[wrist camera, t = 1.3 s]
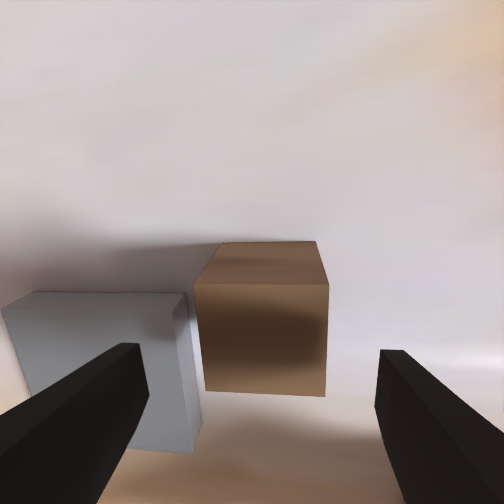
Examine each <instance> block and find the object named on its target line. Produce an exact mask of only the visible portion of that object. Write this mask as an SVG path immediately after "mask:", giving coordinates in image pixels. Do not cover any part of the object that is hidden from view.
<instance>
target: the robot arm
mask: <svg viewBox="0 0 504 504" xmlns="http://www.w3.org/2000/svg"><path fill="white" fill-rule="evenodd" d="M149 396H150V394H149V389H148V384H147V379H146V374H145V369H144V364H143V359H142V354H141V348H140V343H119V344H117V345H116V346H114V347H112V348H110V349H108V350H107V351H105V352H103V353H102V354H100V355H99V356H97V357H95V358H94V359H92V360H91V361H89V362H87V363H86V364H84V365H83V366H81V367H80V368H78V369H76V370H75V371H73V372H72V373H70V374H68V375H67V376H65V377H64V378H62V379H60V380H59V381H57V382H56V383H54V384H52V385H51V386H49V387H48V388H46V389H44V390H42V391H41V392H39V393H37V394H36V395H34V396H32V397H31V398H29V399H27V400H25V401H24V402H22V403H20V404H19V405H17V406H15V407H14V408H12V409H10V410H8V411H7V412H5V413H3V414H2V415H0V504H96V503H97V502H98V500H99V498H100V496H101V494H102V492H103V490H104V489H105V487H106V485H107V483H108V481H109V479H110V478H111V476H112V474H113V472H114V470H115V468H116V467H117V465H118V463H119V461H120V459H121V457H122V455H123V454H124V452H125V450H126V448H127V446H128V444H129V442H130V440H131V439H132V437H133V435H134V433H135V431H136V429H137V427H138V424H139V422H140V419H141V417H142V415H143V412H144V409H145V407H146V404H147V401H148V399H149ZM374 407H375V411H376V415H377V419H378V423H379V427H380V431H381V435H382V439H383V442H384V446H385V449H386V451H387V454H388V457H389V460H390V462H391V465H392V468H393V470H394V473H395V476H396V479H397V481H398V484H399V487H400V489H401V492H402V495H403V497H404V500H405V504H504V433H503V432H502V431H501V430H499V429H498V428H497V427H495V426H494V425H493V424H491V423H490V422H489V421H488V420H486V419H485V418H484V417H483V416H481V415H480V414H479V413H478V412H476V411H475V410H474V409H473V408H471V407H470V406H469V405H468V404H466V403H465V402H464V401H463V400H462V399H460V398H459V397H458V396H457V395H456V394H454V393H453V392H452V391H451V390H450V389H448V388H447V387H446V386H445V385H444V384H443V383H441V382H440V381H439V380H438V379H437V378H436V377H434V376H433V375H432V374H431V373H430V372H429V371H427V370H426V369H425V368H424V367H423V366H422V365H420V364H419V363H418V362H417V361H416V360H415V359H413V358H412V357H411V356H410V355H409V354H407V353H406V352H405V351H404V350H382V349H380V358H379V368H378V377H377V387H376V396H375V406H374Z"/></svg>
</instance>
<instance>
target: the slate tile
mask: <svg viewBox="0 0 504 504" xmlns="http://www.w3.org/2000/svg"><path fill="white" fill-rule="evenodd" d="M1 311H2V314H3V317H4V320H5V323H6V326H7V328H8V331H9V334H10V337H11V340H12V343H13V345H14V348H15V351H16V354H17V357H18V360H19V362H20V365H21V368H22V371H23V374H24V377H25V380H26V382H27V385H28V388H29V391H30V394H31V397H32V396H34V395H36V394H37V393H39V392H41V391H42V390H44V389H46V388H48V387H49V386H51V385H52V384H54V383H56V382H57V381H59V380H60V379H62V378H64V377H65V376H67V375H68V374H70V373H72V372H73V371H75V370H76V369H78V368H80V367H81V366H83V365H84V364H86V363H87V362H89V361H91V360H92V359H94V358H95V357H97V356H99V355H100V354H102V353H103V352H105V351H107V350H108V349H110V348H112V347H114V346H116V345H117V344H119V343H140V348H141V354H142V359H143V364H144V369H145V374H146V379H147V384H148V389H149V394H150V396H149V399H148V401H147V404H146V407H145V409H144V412H143V415H142V417H141V419H140V422H139V424H138V427H137V429H136V431H135V433H134V435H133V437H132V439H131V440H130V442H129V444H128V446H127V449H140V450H153V451H166V452H180V453H193V451H194V448H195V445H196V442H197V438H198V435H199V432H200V429H201V426H202V416H201V409H200V401H199V393H198V386H197V378H196V370H195V363H194V355H193V347H192V340H191V332H190V324H189V317H188V309H187V302H186V294H185V293H116V292H32V293H30V294H28V295H26V296H24V297H23V298H21V299H19V300H17V301H15V302H13V303H12V304H10V305H8V306H6V307H4V308H2V309H1Z"/></svg>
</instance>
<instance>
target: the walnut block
mask: <svg viewBox="0 0 504 504" xmlns="http://www.w3.org/2000/svg"><path fill="white" fill-rule="evenodd" d="M193 289H194V298H195V306H196V314H197V322H198V331H199V339H200V347H201V356H202V364H203V372H204V380H205V389H206V391H215V392H236V393H256V394H277V395H297V396H317V397H325V387H326V360H327V333H328V305H329V282H328V279H327V276H326V273H325V270H324V267H323V263H322V260H321V257H320V254H319V251H318V248H317V244H316V241H299V242H229V243H222V245H221V246H220V247H219V249H218V250H217V252H216V253H215V254H214V256H213V257H212V258H211V260H210V261H209V263H208V264H207V265H206V267H205V268H204V270H203V271H202V272H201V274H200V275H199V276H198V278H197V279H196V281H195V282H194V283H193Z"/></svg>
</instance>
